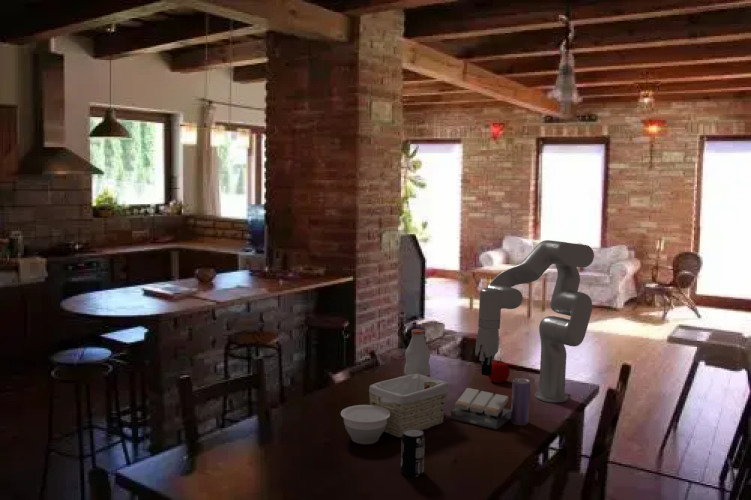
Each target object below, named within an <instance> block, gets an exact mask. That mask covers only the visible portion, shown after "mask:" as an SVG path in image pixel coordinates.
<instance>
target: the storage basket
mask: <svg viewBox="0 0 751 500" xmlns="http://www.w3.org/2000/svg"><path fill="white" fill-rule="evenodd" d="M424 384H426V385H429V386H430V388H428V389H425V390H424V388H425V386H424ZM448 388H449V383H448V382H447V381H444V380H440V379H437V378H434V377H431V376H430V377H428V376H424V375H421V374H412V375H406V376H404V375H402V376H398V377H394V378H391V379H387V380H382V381H378V382H375V383H373V384H370V385H369V389H368V392H369V394H368V395H369V405H374V406H379V407H383V408H385V409H387V410H388V411H389V412H390V417H389V418H388V419H387V424H386V428H385V430H384V431H383V432H385V433H386V434H390V435H391V436H395V437H397V438H402V435H403V431H404V430H406V429H411V428H414V429H420V430H422V431H425V430H427V429H430V428H432V427H434V426H435V427H436V426H438V425H440V424H442V423H444V415H445V410H446V409H445V408H446V400H447V395H448V393H449V389H448Z"/></svg>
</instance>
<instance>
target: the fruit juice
mask: <svg viewBox="0 0 751 500" xmlns="http://www.w3.org/2000/svg"><path fill="white" fill-rule="evenodd" d="M425 335H426V331H425V329H420V328H414V329H411V339H410V342H409V344H408V346H407V348H406V349H405V353H404V354H405V363H404V375H403V376H406V375H412V374H421V375H424V376H428V377H431V365H430V363H429V362H430V358H431V352H430V349H429V347H428V345H427V343H426V339H425ZM424 386H425V388H424V390H425V389H428V388H431V386H429V385H426V384H424Z"/></svg>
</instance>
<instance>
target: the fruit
mask: <svg viewBox="0 0 751 500" xmlns="http://www.w3.org/2000/svg"><path fill="white" fill-rule="evenodd" d="M499 359H500V360H493V363H492V375H490V376H487V378H489V380H490V381H491V382H492V383H496V384H503V383H505V382H506V381H507V380H508V379H509V377H510V373H511V372H510V366H509V365H508V364H507V363H506V362H504V361H502V357H500V358H499Z"/></svg>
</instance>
